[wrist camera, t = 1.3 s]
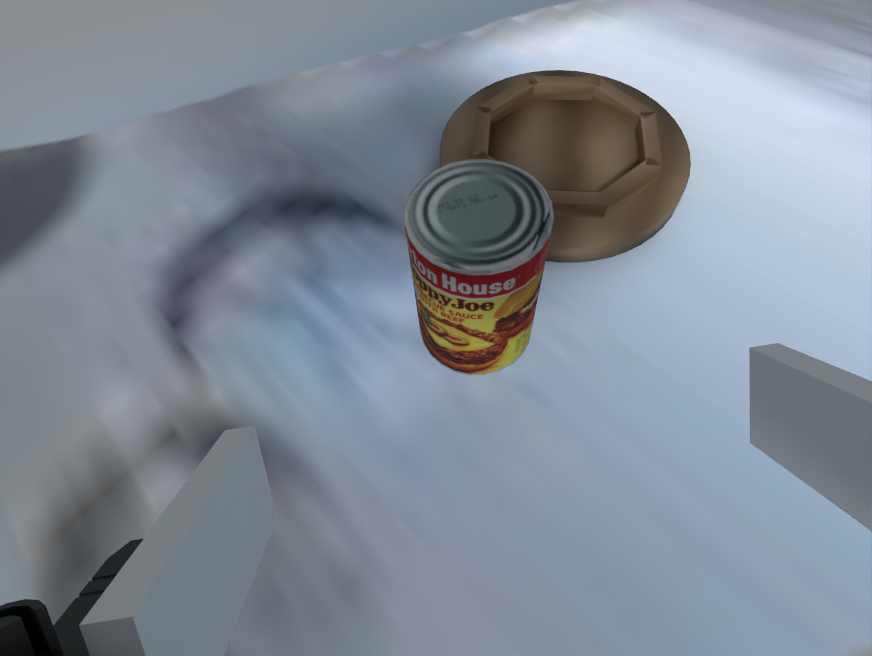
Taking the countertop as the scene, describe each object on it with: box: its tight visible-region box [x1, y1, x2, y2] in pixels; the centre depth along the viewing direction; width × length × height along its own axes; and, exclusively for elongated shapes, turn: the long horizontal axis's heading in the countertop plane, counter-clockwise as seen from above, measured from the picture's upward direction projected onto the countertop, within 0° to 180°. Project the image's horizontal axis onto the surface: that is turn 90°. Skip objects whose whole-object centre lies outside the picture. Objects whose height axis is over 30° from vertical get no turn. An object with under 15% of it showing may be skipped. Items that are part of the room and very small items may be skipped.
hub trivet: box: [440, 70, 691, 262], centre depth 45 cm, size 20×20×3 cm
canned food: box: [404, 159, 554, 375], centre depth 34 cm, size 8×8×12 cm
